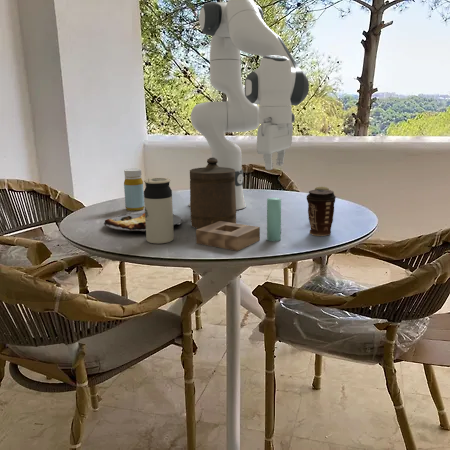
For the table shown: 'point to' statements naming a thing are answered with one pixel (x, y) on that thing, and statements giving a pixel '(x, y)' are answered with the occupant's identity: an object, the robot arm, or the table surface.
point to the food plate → (132, 222)
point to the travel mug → (158, 210)
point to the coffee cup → (320, 211)
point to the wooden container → (212, 195)
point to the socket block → (228, 235)
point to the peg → (273, 219)
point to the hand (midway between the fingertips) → (274, 167)
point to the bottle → (133, 190)
